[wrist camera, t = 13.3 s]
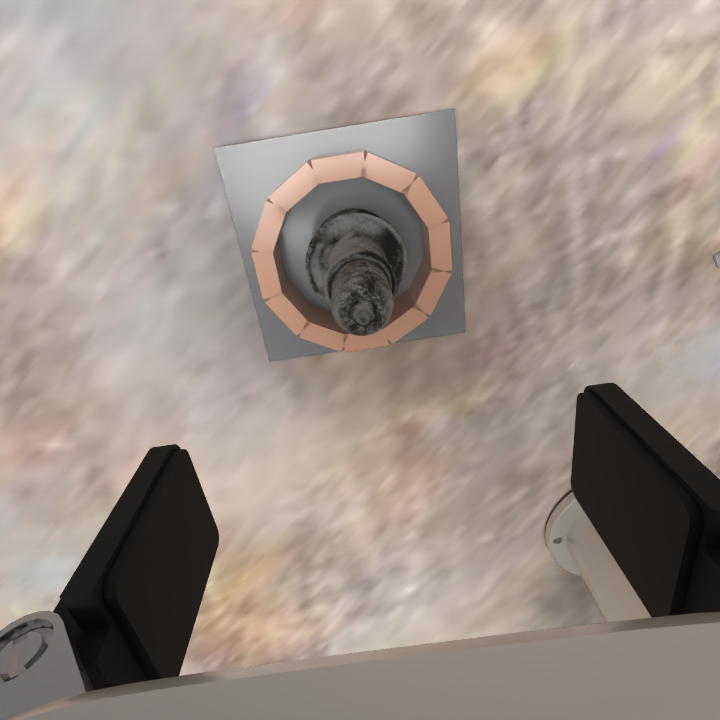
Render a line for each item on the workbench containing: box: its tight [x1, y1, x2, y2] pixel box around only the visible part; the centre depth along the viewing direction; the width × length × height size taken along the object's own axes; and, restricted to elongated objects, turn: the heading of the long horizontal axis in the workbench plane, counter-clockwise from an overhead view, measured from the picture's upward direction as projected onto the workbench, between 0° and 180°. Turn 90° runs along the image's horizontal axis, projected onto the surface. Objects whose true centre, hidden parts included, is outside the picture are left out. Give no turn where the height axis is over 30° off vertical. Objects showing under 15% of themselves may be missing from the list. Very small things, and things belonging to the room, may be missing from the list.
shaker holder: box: [214, 109, 465, 362], centre depth 29 cm, size 14×14×4 cm
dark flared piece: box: [305, 208, 408, 336], centre depth 24 cm, size 6×6×12 cm
